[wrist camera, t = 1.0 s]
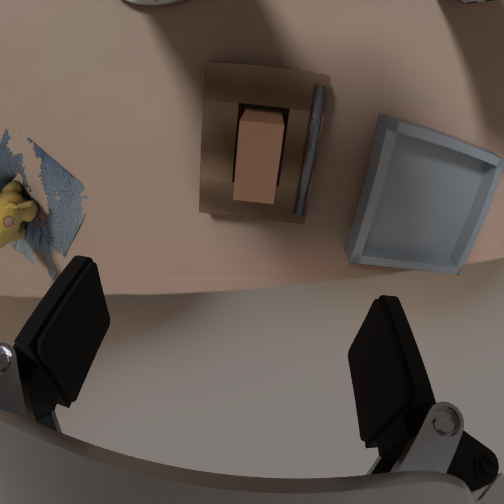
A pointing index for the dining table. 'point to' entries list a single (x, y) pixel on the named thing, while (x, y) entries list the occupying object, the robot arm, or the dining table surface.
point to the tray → (421, 199)
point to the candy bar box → (473, 1)
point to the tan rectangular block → (258, 155)
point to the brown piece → (226, 131)
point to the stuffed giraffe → (25, 209)
